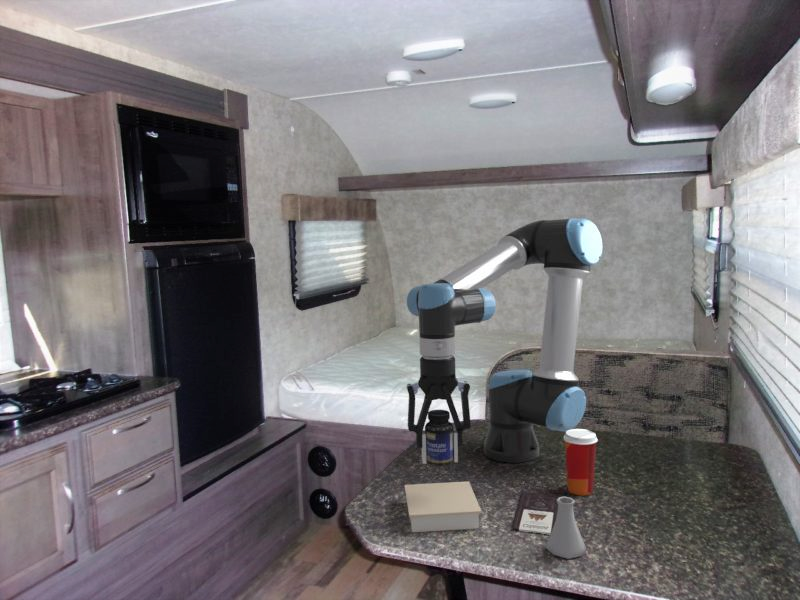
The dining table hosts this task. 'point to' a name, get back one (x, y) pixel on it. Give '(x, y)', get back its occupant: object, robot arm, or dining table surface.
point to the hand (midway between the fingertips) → (439, 460)
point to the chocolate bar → (536, 513)
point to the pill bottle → (439, 438)
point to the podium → (442, 506)
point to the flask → (565, 532)
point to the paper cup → (580, 460)
